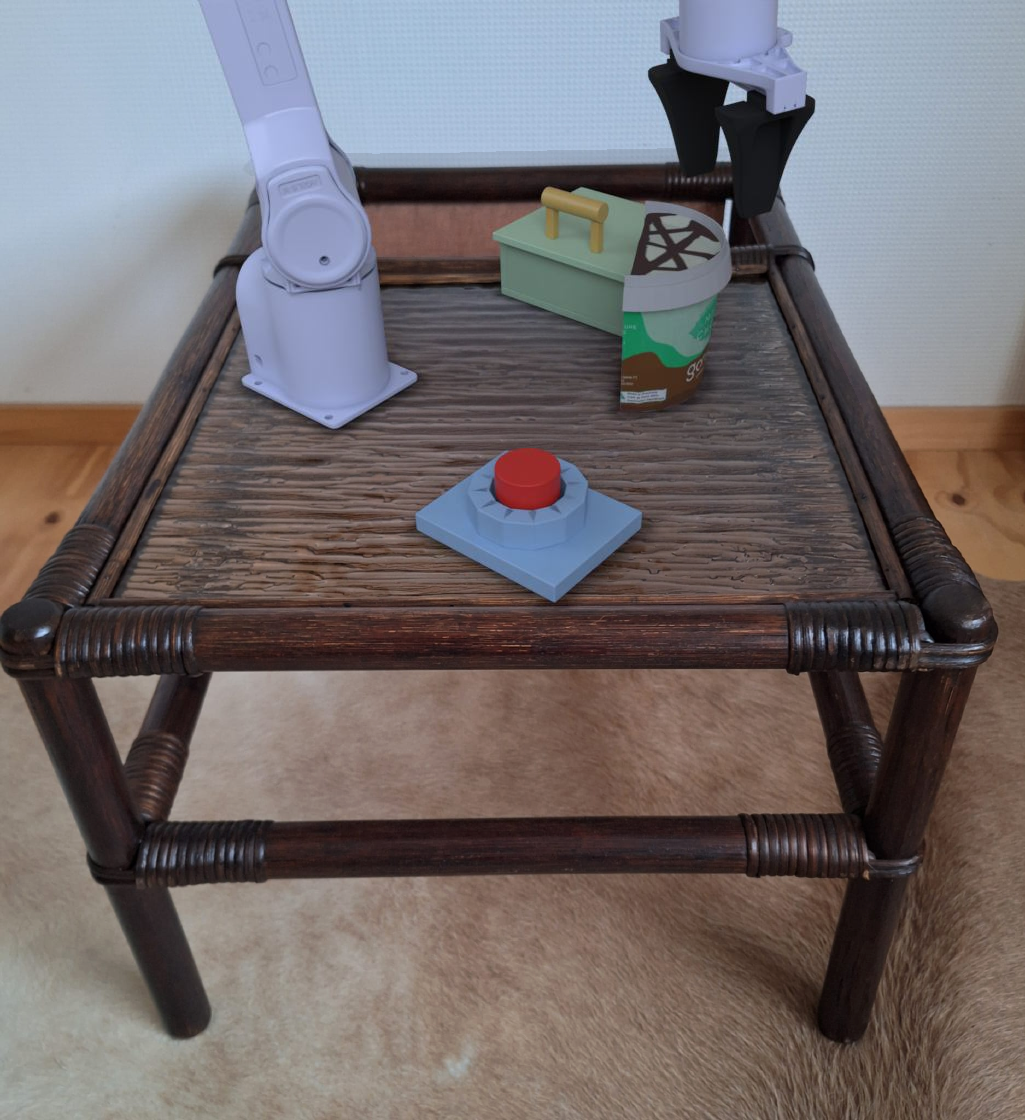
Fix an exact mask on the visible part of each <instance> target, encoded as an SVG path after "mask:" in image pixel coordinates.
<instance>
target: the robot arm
mask: <svg viewBox="0 0 1025 1120" xmlns="http://www.w3.org/2000/svg"><path fill="white" fill-rule="evenodd" d="M197 1H198V4H199V6H200V10H201V12H202V14H203V19H204V20H205V24H206V26H207V29H208V33H209V35H210V38H211V40H212V43H213V46H214V49H215V52H216V55H217V57H218V60H219V61H218V62H219V64H220V67H221V69H222V73H223V75H224V78H225V80H226V81H225V82H226V83H227V86H228V89H229V92H230V95H231V97H232V101H233V103H234V106H235V109H236V112H237V115H238V118H239V121H240V123H241V126H242V130H243V133H244V138H245V141H246V145H247V149H248V153H249V157H250V161H251V164H252V167H253V172H254V175H255V177H254V179H255V190H256V195H257V198H258V201H259V207H260V216H261V217H260V218H261V231H260V232H261V233H260V234H261V235H260V238H261V239H260V240H261V243H262V244H261V245H262V246H261V247H258V248H257V249H256V250H254V251H253V252H252V253H251V254H250V255H249V256H248V257H247V258H246V259H245V261H244V262H243V264H242V266H241V268H240V271H239V273H238V276H237V280H236V285H235V301H236V306H237V311H238V316H239V321H240V326H241V331H242V334H243V339H244V345H245V349H246V354H247V359H248V364H249V369H250V373H248V374H246V375H244V376H243V377H242V378H241V382H242V383H241V384H242V385H243V386H244V387H246V388H248V389H250V390H252V391H254V392H256V393H258V394H260V395H262V396H264V397H266V398H268V399H270V400H272V401H274V402H276V403H279V404H280V405H282V406H284V407H286V408H288V409H290V410H293V411H295V412H296V413H298V414H301V415H302V416H304V417H307V418H308V419H311V420H313V421H315V422H317V423H318V424H321V425H323V426H325V427H327V428H329V429H333V430H336V429H339V428H341V427H343V426H344V425H346V424H348V423H350V422H351V421H353V420H354V419H357V418H358V417H359V416H361V415H363V414H366V412H368V411H369V410H371V409H373V408H375V407H376V406H378V405H380V404H382V403H383V402H384V401H386V400H388V399H390V398H391V397H394V396H395V395H396V394H398V393H399V392H401V391H403V390H405V389H406V388H408V387H410V386H411V385H413V384H414V383H416V382H417V381H418V374H417V373H416V372H415V371H413V370H410V369H407V368H405V367H403V366H401V365H398V364H396V363H394V362H391V361H389V357H388V347H387V340H386V339H387V338H386V331H385V321H384V312H383V303H382V293H381V286H380V285H381V284H380V277H379V269H378V267H379V266H378V261H377V259H378V257H377V251H376V248H375V247H374V246H373V244H372V243H373V242H372V241H373V239H372V238H373V236H372V235H373V232H372V226H371V223H370V218H369V215H368V214H367V212H366V209H365V208H364V207H363V204H362V202H361V199H360V194H359V192H358V189H357V178H356V174H355V170H354V167H353V164H352V162H351V160H350V159H349V157H348V155H347V154H346V153H345V151H344V150H342V149H341V148H340V146H339V145H338V144H337V143H336V141H334V140H333V138H332V137H331V135H330V134H329V132H328V130H327V128H326V125H325V122H324V119H323V116H322V113H321V109H320V106H319V103H318V99H317V95H316V93H315V90H314V87H313V84H312V80H311V77H310V73H309V70H308V66H307V63H306V61H305V57H304V54H303V51H302V47H301V44H300V40H299V37H298V34H297V30H296V27H295V23H294V19H293V17H292V14H291V10H290V6H289V3H288V0H197ZM778 15H779V0H678V16H677V15H676V16H673V17H669V18H665V19H661V20H660V21H659V37H660V39H659V41H660V43H659V44H660V52H662V53H663V54H665V55H668V56H669V57H668V58H666V62H665V63H661V64H658V65H654V66H651V67H649V69H648V70H647V78H648V80H649V82H650V84H651V86H652V87H653V89H654V90H655V93H656V95H657V96H658V98H659V101H660V103H661V105H662V107H663V110H664V112H665V115H666V118H667V121H668V124H669V127H670V131H671V135H672V138H673V142H674V147H675V151H676V155H677V160H678V163H679V167H680V170H681V173H682V176H683V177H685V178H686V179H690V178H695V177H697V176H701V175H705V174H708V173H712V172H714V171H715V168H716V164H717V161H718V155H719V148H720V147H719V145H720V134H721V130H722V133H723V137H724V139H725V142H726V145H727V149H728V153H729V154H728V155H729V159H730V163H731V164H730V165H731V172H732V173H731V174H732V185H733V187H732V188H733V199H734V205H735V208H736V209H735V210H736V212H737V215H738V216H739V217H740V218H741V219H743V220H744V219H746V220H747V219H750V218H753V217H757V216H760V215H763V214H766V213H767V214H768V213H771V212H772V210H773V207H774V204H775V201H776V197H777V195H778V191H779V189H780V184H781V181H782V178H783V174H784V172H785V168H786V166H787V163H788V160H789V158H790V157H791V153H792V151H793V149H794V146H795V145H796V142H797V140H798V139H799V137H800V135H801V134H802V132H803V131H804V129H805V127H806V125H807V124H808V122H809V121H810V120H811V118H812V117H813V115H814V114H815V112H816V99H815V98H814V97H813V96H811V95H809V94H807V79H808V72H807V71H806V70H804V69H802V68H800V67H799V66H798V65H797V64H796V63H795V62H794V60H793V58H792V57H791V55H790V54H789V52H788V51H787V49H786V48H788V47H790V46H791V45H793V35H794V34H793V32H792V31H790V30H788V29H785V28H783V27H780V26H778V18H779V17H778ZM730 83H731V84H733V85H735V86H736V87H738V88H740V89H742V90H744V91H746V100H740V101H736V102H732V103H728V104H725V101H726V97H727V93H728V90H729V86H730Z"/></svg>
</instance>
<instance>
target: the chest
mask: <svg viewBox="0 0 1025 1120" xmlns="http://www.w3.org/2000/svg"><path fill="white" fill-rule="evenodd" d="M499 260H500V261H499V262H500V286H501V287H500V288H501V290H500V291H501V292H500V293H501V295H504V296H506V297H510V298H512V299H515V300H518V301H521V302H523V303H527V304H529V305H532V306H535V307H538V308H540V309H542V310H546V311H548V312H551V313H553V314H557V315H560V316H562V317H565V318H567V319H570V320H571V319H572V320H573V321H576V322H579V323H582V324H585V325H587V326H591V327H592V328H595V329H599V330H600V331H604V332H606V333H610V334H612V335H615V336H619V337H621V338H623V311H622V308H623V293H624V283H622V282H619V281H616V280H613V279H610V278H607V277H604V276H601V275H598V274H595V273H592V272H589V271H586V270H583V269H580V268H577V267H574V266H571V265H568V264H565V263H562V262H559V261H555V260H552V259H549V258H546V257H543V256H540V255H537V254H534V253H531V252H528V251H525V250H522V249H519V248H516V247H513V246H510V245H507V244H504V243H501V242H499Z"/></svg>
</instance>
